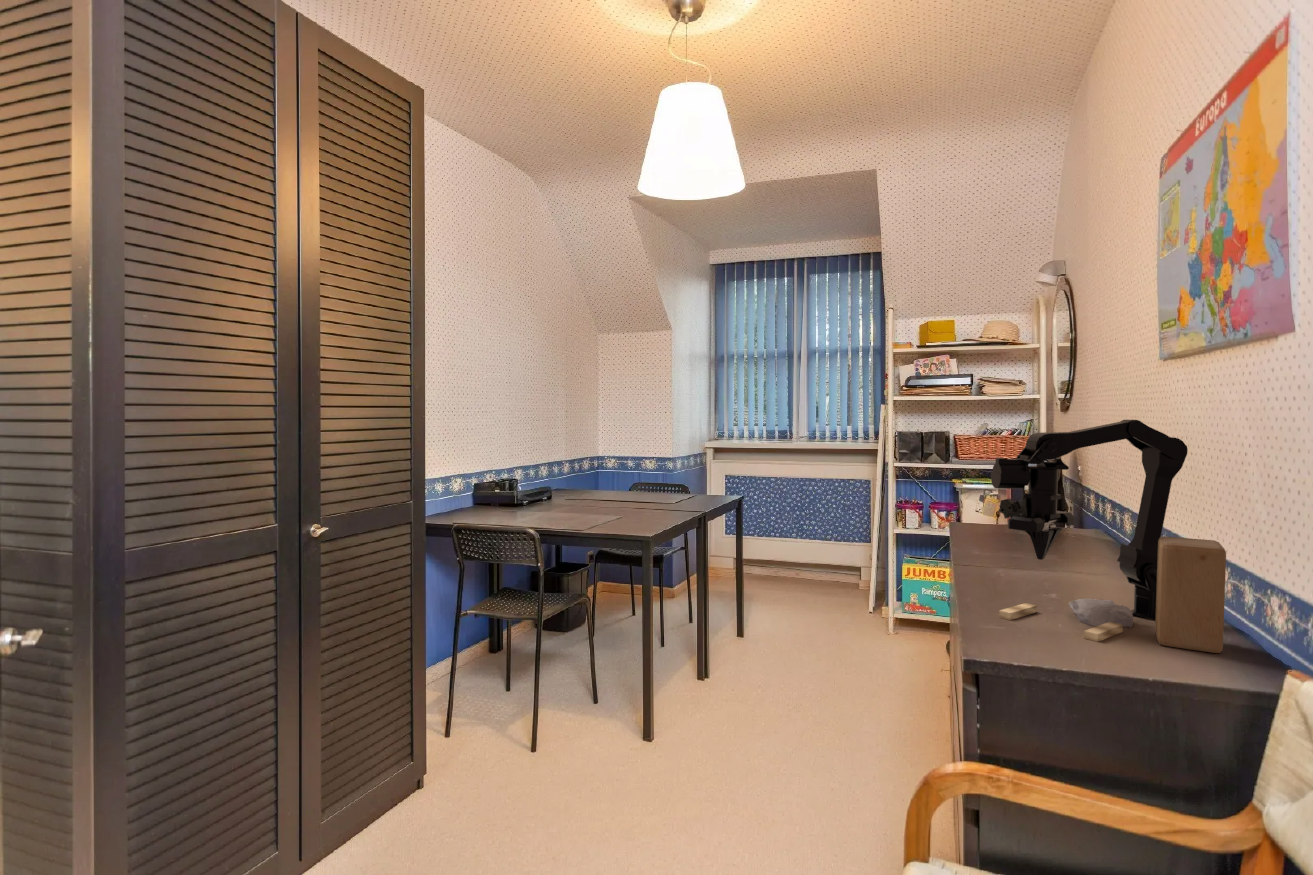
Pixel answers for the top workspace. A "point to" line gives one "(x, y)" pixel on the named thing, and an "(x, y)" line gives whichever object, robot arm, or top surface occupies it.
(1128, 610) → the stone block
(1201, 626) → the wooden block
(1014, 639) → the top surface
